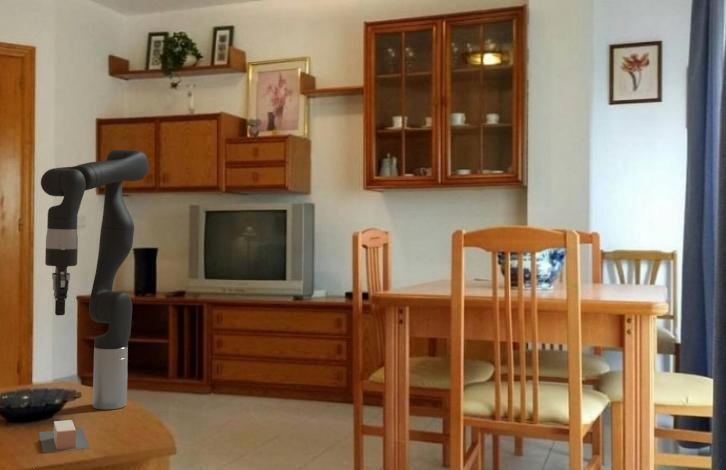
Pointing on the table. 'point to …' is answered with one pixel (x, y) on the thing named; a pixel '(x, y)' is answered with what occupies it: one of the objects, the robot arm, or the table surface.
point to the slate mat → (50, 447)
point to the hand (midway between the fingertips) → (59, 314)
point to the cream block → (64, 434)
